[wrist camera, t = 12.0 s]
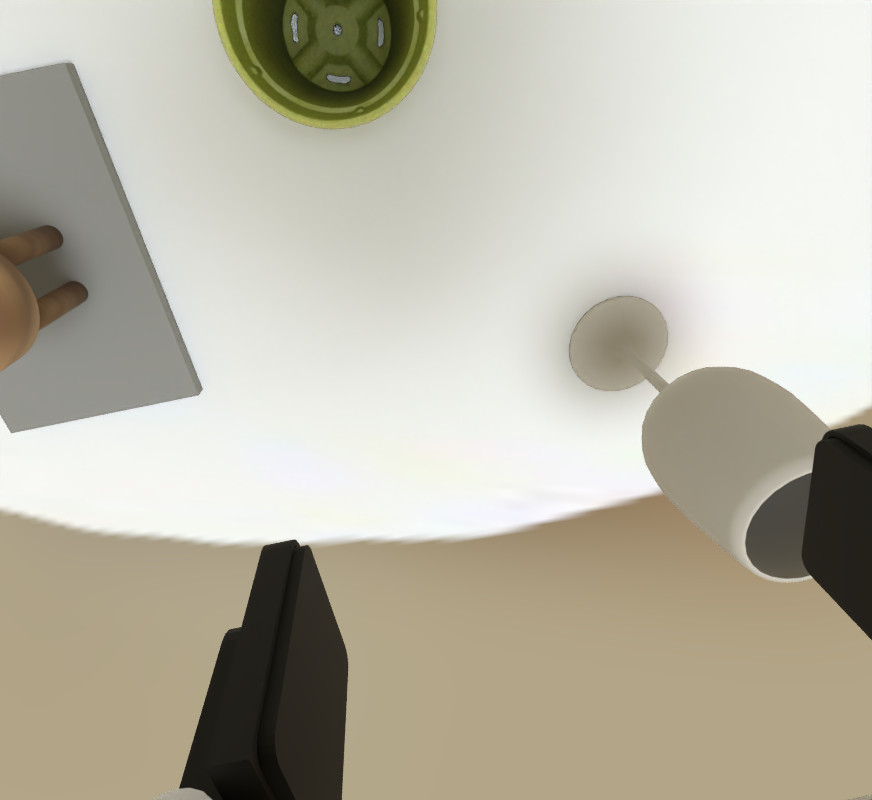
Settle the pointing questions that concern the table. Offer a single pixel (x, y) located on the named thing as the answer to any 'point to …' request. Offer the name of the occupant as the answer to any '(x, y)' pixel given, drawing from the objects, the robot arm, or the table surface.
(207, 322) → the table surface
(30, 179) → the mat
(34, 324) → the stool
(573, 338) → the wineglass
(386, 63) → the plant pot
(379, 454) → the table surface
